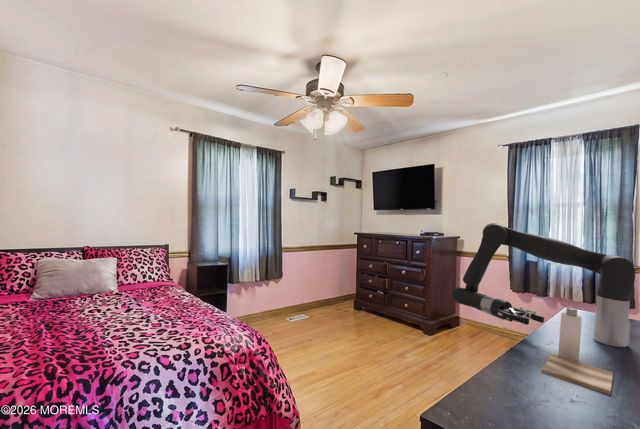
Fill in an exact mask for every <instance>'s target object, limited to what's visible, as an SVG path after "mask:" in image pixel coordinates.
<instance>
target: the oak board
mask: <svg viewBox="0 0 640 429" xmlns="http://www.w3.org/2000/svg"><path fill="white" fill-rule="evenodd" d="M541 372H542V373H545V374H547V375H550V376H553V377H556V378H559V379H561V380H565V381H568V382H571V383H574V384H576V385H580V386H583V387H586V388H588V389H591V390H595V391H596V392H597V391H598V392H601V393H603V394H605V395H609V396H611V393H612V386H613V377H614V372H612V371H609V370H605V369H603V368H600V367H596V366H592V365H589V364H586V363H582V362H579V361H573V360H570V359H566V358H563V357H560V356H559V355H557V354H552V353H551V354H550V355H549V357H548V359H546V362H545V363H544V365H543V366H542V368H541Z"/></svg>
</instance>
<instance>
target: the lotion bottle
mask: <svg viewBox="0 0 640 429" xmlns="http://www.w3.org/2000/svg"><path fill="white" fill-rule="evenodd" d="M582 322H583V316H581V315H579V314H578V309H575V308H572V307H566V312H561V314H560V324H559V325H560V327H559V341H558V353H557V354H558V355H557V356H560V357H563V358H566V359H570V360H573V361H576V362H579V360H580V349H581V335H582V326H583V325H582Z"/></svg>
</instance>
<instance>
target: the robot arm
mask: <svg viewBox="0 0 640 429" xmlns="http://www.w3.org/2000/svg"><path fill="white" fill-rule="evenodd" d="M502 245H503V246H507V247H512V248H514V249H517V250H520V251H522V252H524V253H526V254H529V255H531V256H532V257H536V258H538V259H541V260H545V261H548V262H552V263H556V264H561V265H567V266H574V267H578V268H582V269H584V270H587V271H590V272H594V273H596V274H598V275H601V280H600V281H601V283H600V286H599V287H598V288H597V291H596V292H597V293H596V304H595V315H594V316H595V318H594V329H593V339H594V340H595V341H596V342H599V343H601V344H604V345H606V346H612V347H616V348H626V347H629V345H630V336H631V335H630V333H631V325H632V324H631V323H632V322H631V320H630V319H629V316H630V303H631V302H630V301H631V296H632V295H633V292H634V287H635V282H636V268H635V265H634V263H633V262H632V261H631V260H629V259H628V258H625V257H622V256H619V255H613V254H607V253H601V252H596V251H591V250H588V249H584V248H581V247H579V246H576V245H574V244H572V243H568V242H565V241H562V240H559V239H555V238H552V237H547V236H545V235H544V236H543V235H540V234H539V235H538V234H534V233H527V232H523V231H518V230H515V229H512V228H509V227H507V226H504V225H502V224H499V223H496V222H492V223H489V224H486V225H485V226H484V227H483V229H482V237H481V242H480V245H479V246H478V249H477V252H476V254H474V257H473V258H472V260H471V261H470V263H469V265H468V267H467V269H466V271H465V273H464V275H463V277H462V281H463V283H464V284H465V287H455V288H454V289H453V290H451V298H452V299H453V301H454V302H455V303H458V304H460V305H463V306H467V307H471V308H474V309H476V310H478V311H481V312H483V313H486V314H487V315H491V316H493V317H495V318H498V319H501V320H503V321H504V320H505V321H508V322H515V323H521V324H523V325H526V326H527V325H530V320H533V321H535V322H538V323H542V324H543V323H545V317H544V316H542V315H538V314H537V313H536V311H535V310H534V311H533V310H530V309H526V308H523V307H519V308H518V307H513V306H512V303H511V301H510V302H509V301H508V300H505V299H502V298H499V297H495V296H491V295H487V294H483V293H481V292H478V291H479V286H480V283H481V282H482V279H483V277H484V275H485V273H486V272H487V269H488V267H489V265H490V264H491V261H492V259H493V257H494V256H495V254H496V252H497V250H498V249H499V248H500V247H501V246H502Z"/></svg>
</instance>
